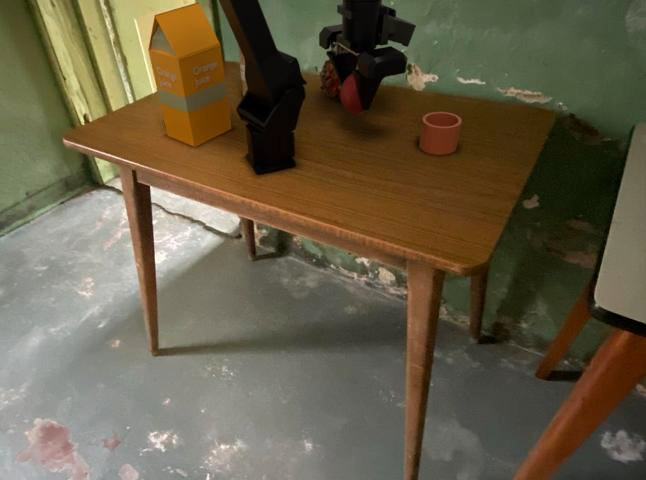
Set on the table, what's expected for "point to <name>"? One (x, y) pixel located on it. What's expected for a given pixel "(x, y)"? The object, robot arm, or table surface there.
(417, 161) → the table surface
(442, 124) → the cup
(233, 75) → the table surface
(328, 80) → the dragon fruit
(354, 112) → the onion
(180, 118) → the orange juice
